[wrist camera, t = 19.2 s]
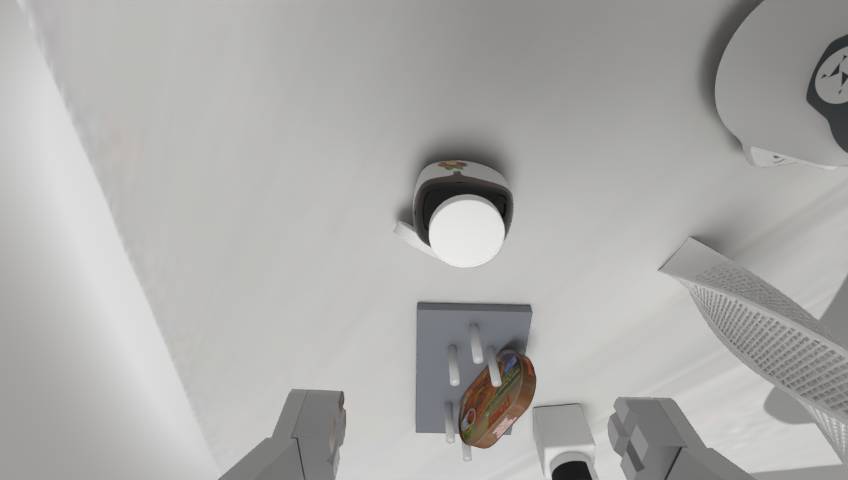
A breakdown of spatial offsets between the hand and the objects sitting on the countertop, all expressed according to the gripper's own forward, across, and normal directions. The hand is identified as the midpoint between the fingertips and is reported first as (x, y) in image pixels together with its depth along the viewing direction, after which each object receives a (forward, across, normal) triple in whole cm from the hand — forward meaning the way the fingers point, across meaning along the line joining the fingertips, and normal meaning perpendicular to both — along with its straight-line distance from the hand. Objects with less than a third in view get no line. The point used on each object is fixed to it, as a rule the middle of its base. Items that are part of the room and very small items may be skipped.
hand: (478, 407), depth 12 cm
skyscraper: (+35, -32, +14) cm, 50 cm away
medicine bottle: (+35, -20, +44) cm, 60 cm away
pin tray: (+35, -5, +34) cm, 49 cm away
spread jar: (+35, -1, +8) cm, 36 cm away
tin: (+34, -8, +33) cm, 48 cm away
